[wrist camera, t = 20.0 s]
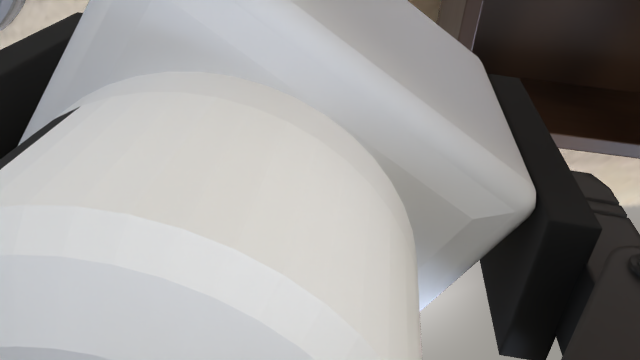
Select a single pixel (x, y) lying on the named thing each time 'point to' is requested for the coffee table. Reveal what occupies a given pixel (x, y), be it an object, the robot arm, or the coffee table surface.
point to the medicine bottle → (251, 183)
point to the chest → (563, 63)
